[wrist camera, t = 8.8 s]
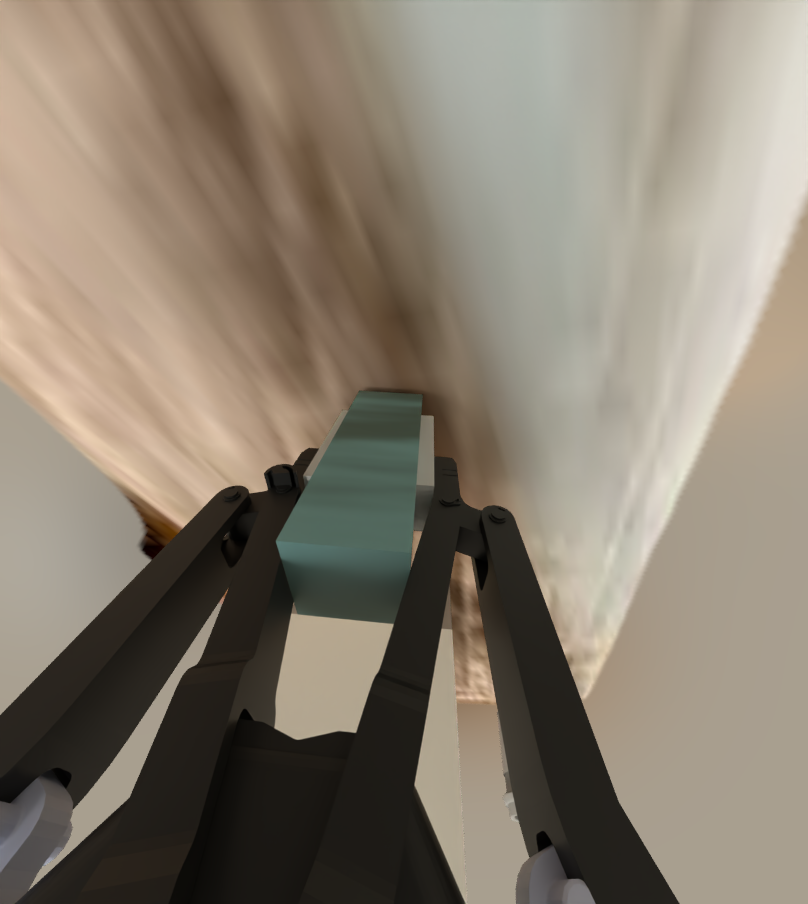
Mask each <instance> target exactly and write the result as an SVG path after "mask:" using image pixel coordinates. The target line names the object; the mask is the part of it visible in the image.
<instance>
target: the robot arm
mask: <svg viewBox="0 0 808 904" xmlns="http://www.w3.org/2000/svg"><path fill="white" fill-rule="evenodd" d="M347 412H348V410H342V411H341V413H340V415H339V416H338V418H337V420H336V421H335V423H334V425H333V426H332V428H331V430H330V431H329V433H328V435H327V436H326V438H325V440H324V441H323V443H322V445H321V446H320V448H319V449H316V448H308V449H306V450H305V451H304V452H302V453H301V454H300V456H299V457H298V459H297V460H296V462H295V463H294V465H293V466H292V465H289V464H281V465H276V466H273V467H271V468H269V469H268V470H267V471H266V472H265V473H264V476H265V479H266V483H267V487H268V490H267V491H264V492H258V493H250V494H249V491H248V489H247V488H246V487H243V486H232V487H228V488H225V489H223V490H221V491H220V492H219V493H217V494H216V495H215V496H214V497H213V498H212V499H211V500H210V501H209V502H208V503H207V505H206V506H205V507H204V508H203V509H202V510H201V511H200V512H199V513H198V514H197V515H196V516H195V517H194V518H193V519H192V520H191V521H190V522H189V523H188V524H187V525H186V526H185V527H184V528H183V529H182V530H181V531H180V532H179V533H178V534H177V535H176V536H175V537H174V538H173V539H172V540H171V541H170V542H169V543H168V544H167V545H166V546H165V547H164V548H163V549H162V550H161V551H160V553H159V554H158V555H157V556H156V557H155V558H154V559H153V560H152V561H151V562H150V563H149V564H148V565H147V566H146V567H145V568H144V569H143V570H142V571H141V572H140V573H139V574H138V575H137V576H136V577H135V578H134V579H133V580H132V581H131V582H130V583H129V584H128V585H127V586H126V587H125V588H124V589H123V590H122V591H121V592H120V593H119V594H118V595H117V596H116V598H115V599H114V600H113V601H112V602H111V603H110V604H109V605H108V606H107V607H106V608H105V609H104V610H103V611H102V612H101V613H100V614H99V615H98V616H97V617H96V618H95V619H94V620H93V621H92V622H91V623H90V624H89V625H88V626H87V627H86V628H85V629H84V630H83V631H82V632H81V633H80V634H79V635H78V636H77V637H76V638H75V639H74V640H73V641H72V642H71V643H70V644H69V645H68V647H67V648H66V649H65V650H64V651H63V652H62V653H61V654H60V655H59V656H58V657H57V658H56V659H55V660H54V661H53V662H52V663H51V664H50V665H49V666H48V667H47V668H46V669H45V670H44V671H43V672H42V673H41V674H40V675H39V676H38V677H37V678H36V679H35V680H34V681H33V682H32V683H31V684H30V685H29V687H27V688H26V690H25V691H24V692H22V694H21V695H20V696H19V697H18V698H17V699H16V700H15V701H14V702H13V703H12V704H11V705H10V706H9V707H8V708H7V709H6V710H5V711H4V712H3V713H2V714H1V715H0V904H465V901H464V899H463V897H462V894H461V892H460V890H459V887H458V885H457V883H456V880H455V878H454V876H453V873H452V871H451V869H450V866H449V864H448V862H447V859H446V857H445V855H444V852H443V850H442V848H441V845H440V843H439V841H438V838H437V836H436V834H435V831H434V829H433V827H432V824H431V822H430V820H429V817H428V815H427V813H426V810H425V808H424V806H423V803H422V801H421V799H420V796H419V794H418V792H417V789H416V787H415V779H416V773H417V768H418V762H419V756H420V751H421V745H422V739H423V734H424V728H425V722H426V716H427V711H428V705H429V699H430V692H431V686H432V680H433V675H434V669H435V663H436V658H437V652H438V646H439V641H440V635H441V629H442V624H443V618H444V612H445V607H446V601H447V595H448V590H449V584H450V578H451V573H452V567H453V561H454V556H455V551H457V552H460V553H463V554H465V555H468V556H471V559H472V565H473V571H474V576H475V582H476V588H477V594H478V599H479V605H480V611H481V617H482V622H483V628H484V634H485V640H486V645H487V651H488V657H489V662H490V668H491V674H492V680H493V685H494V691H495V697H496V703H497V708H498V714H499V720H500V726H501V731H502V737H503V743H504V749H505V754H506V760H507V766H508V771H509V777H510V783H511V788H512V793H513V798H514V802H515V807H516V812H517V816H518V820H519V824H520V827H521V830H522V834H523V837H524V841H525V845H526V848H527V852H528V855H529V857H530V858H529V859H528V860H527V861H526V862H525V863H524V864H523V865H522V867H521V870H520V872H519V874H518V878H517V884H516V904H679V902H678V901H677V899H676V897H675V895H674V894H673V892H672V890H671V889H670V887H669V885H668V884H667V882H666V880H665V879H664V877H663V875H662V874H661V872H660V870H659V869H658V867H657V865H656V864H655V862H654V861H653V859H652V857H651V855H650V854H649V852H648V850H647V849H646V847H645V846H644V844H643V842H642V840H641V839H640V837H639V835H638V834H637V832H636V830H635V829H634V827H633V825H632V824H631V822H630V820H629V819H628V817H627V815H626V814H625V812H624V810H623V809H622V807H621V805H620V804H619V802H618V799H617V796H616V793H615V791H614V788H613V785H612V783H611V780H610V777H609V774H608V772H607V769H606V766H605V764H604V761H603V758H602V755H601V753H600V750H599V747H598V744H597V742H596V739H595V736H594V733H593V731H592V728H591V725H590V723H589V720H588V717H587V714H586V712H585V709H584V706H583V703H582V701H581V698H580V695H579V693H578V690H577V687H576V684H575V682H574V679H573V676H572V674H571V671H570V668H569V665H568V663H567V660H566V657H565V655H564V652H563V649H562V646H561V644H560V641H559V638H558V636H557V633H556V630H555V627H554V625H553V622H552V619H551V616H550V614H549V611H548V608H547V606H546V603H545V600H544V597H543V595H542V592H541V589H540V587H539V584H538V581H537V578H536V576H535V573H534V570H533V568H532V565H531V562H530V559H529V557H528V554H527V551H526V548H525V546H524V543H523V540H522V538H521V535H520V532H519V529H518V527H517V524H516V521H515V519H514V517H513V515H512V513H511V512H509V511H508V510H507V509H505V508H503V507H501V506H495V505H493V506H487V507H485V508H484V509H483V510H482V511H481V510H478V509H475V508H472V507H470V506H468V505H467V504H465V503H464V502H463V499H462V498H461V496H460V490H459V482H458V473H457V465H456V463H455V461H454V460H453V459H452V458H447V457H434V416H426V415H421V426H420V440H419V454H418V469H417V483H416V497H415V512H414V526H413V530H414V531H423V532H422V535H421V538H420V541H419V545H418V548H417V551H416V554H415V557H414V561H413V564H412V567H411V570H410V574H409V577H408V580H407V583H406V586H405V590H404V593H403V596H402V599H401V602H400V606H399V609H398V612H397V615H396V618H395V622H394V625H393V628H392V631H391V635H390V638H389V641H388V644H387V647H386V651H385V654H384V657H383V660H382V663H381V666H380V669H379V671H378V673H377V674H376V675H375V678H374V680H373V682H372V685H371V688H370V691H369V694H368V697H367V700H366V703H365V706H364V709H363V712H362V715H361V719H360V722H359V725H358V728H357V731H356V733H353V732H344V731H336V732H332V733H327V734H323V735H318V736H314V737H309V738H305V739H300V740H297V739H294V738H292V737H290V736H288V735H286V734H284V733H283V732H281V731H279V730H277V729H275V728H274V727H275V717H276V704H275V700H276V691H277V686H278V681H279V675H280V670H281V665H282V660H283V655H284V649H285V644H286V639H287V634H288V629H289V623H290V618H291V613H292V608H293V602H294V601H293V597H292V594H291V591H290V587H289V584H288V581H287V577H286V574H285V571H284V567H283V564H282V560H281V557H280V554H279V550H278V547H277V544H276V539H277V538H278V536H279V534H280V532H281V531H282V529H283V527H284V525H285V523H286V522H287V520H288V518H289V516H290V514H291V513H292V511H293V509H294V507H295V505H296V504H297V502H298V500H299V498H300V496H301V495H302V493H303V491H304V489H305V487H306V486H307V484H308V482H309V480H310V478H311V477H312V475H313V473H314V471H315V469H316V468H317V466H318V464H319V462H320V460H321V459H322V457H323V455H324V453H325V452H326V450H327V448H328V446H329V444H330V443H331V441H332V439H333V437H334V435H335V434H336V432H337V430H338V428H339V426H340V425H341V423H342V421H343V419H344V417H345V416H346V414H347ZM226 534H227V535H226ZM225 535H226V536H225ZM228 588H229V589H228ZM227 589H228V591H227ZM226 591H227V594H226V597H225V599H224V602H223V604H222V607H221V609H220V612H219V614H218V617H217V619H216V622H215V624H214V627H213V629H212V632H211V635H210V637H209V639H208V642H207V645H206V647H205V650H204V653H203V655H202V657H201V659H200V661H199V662H198V664H197V665H195V666H193V667H191V668H189V669H188V670H187V671H186V672H185V673H184V675H183V676H182V678H181V680H180V682H179V684H178V686H177V688H176V690H175V692H174V695H173V697H172V699H171V702H170V704H169V706H168V709H167V711H166V714H165V716H164V718H163V721H162V723H161V725H160V728H159V730H158V732H157V735H156V737H155V739H154V742H153V744H152V746H151V749H150V751H149V753H148V756H147V758H146V761H145V763H144V765H143V768H142V770H141V773H140V775H139V777H138V779H137V782H136V784H135V786H134V789H133V791H132V794H131V796H130V798H129V799H128V800H127V801H126V802H124V804H122V805H121V806H120V807H119V808H118V809H117V810H116V811H115V812H114V813H112V814H111V815H110V816H109V817H108V818H107V819H106V820H105V821H104V822H103V823H102V824H101V825H99V826H98V827H97V829H95V830H94V831H93V832H92V833H91V834H90V835H89V836H88V837H86V838H85V839H84V840H83V841H82V842H81V843H80V844H79V845H78V846H77V847H76V848H75V849H73V851H71V852H70V853H69V854H68V855H67V856H66V857H65V858H64V859H63V860H62V861H60V862H59V863H58V864H57V865H56V866H55V867H54V868H53V869H52V870H51V871H50V872H48V874H46V875H45V876H44V877H43V878H42V879H41V880H40V881H39V882H38V883H37V884H35V885H34V886H33V887H32V888H31V889H30V890H29V888H30V886H31V884H32V883H33V881H34V879H35V877H36V875H37V873H38V872H39V870H40V869H41V868H42V866H45V865H46V864H48V863H49V862H51V861H52V860H53V859H55V857H56V856H57V855H58V854H59V853H60V852H61V851H62V850H63V848H64V847H65V845H66V843H67V842H68V840H69V838H70V835H71V831H72V824H71V822H70V819H71V816H72V811H73V809H74V808H75V807H76V806H77V805H78V803H79V802H80V801H81V800H82V799H83V798H84V796H85V795H86V794H87V793H88V792H89V791H90V789H91V788H92V787H93V786H94V784H95V783H96V782H97V781H98V779H99V778H100V777H101V775H102V774H103V773H104V771H106V769H107V768H108V767H109V766H110V764H111V763H112V761H113V760H114V758H115V757H116V756H117V754H118V753H119V751H120V750H121V748H122V747H123V746H124V744H125V743H126V741H127V740H128V739H129V737H130V735H131V734H132V732H133V731H134V730H135V728H136V727H137V725H138V724H139V722H140V721H141V719H142V718H143V716H144V714H145V713H146V712H147V710H148V709H149V707H150V706H151V704H152V702H153V701H154V699H155V698H156V696H157V695H158V693H159V692H160V690H161V689H162V687H163V686H164V684H165V683H166V681H167V680H168V678H169V677H170V675H171V674H172V672H173V671H174V669H175V668H176V666H177V665H178V663H179V662H180V660H181V659H182V657H183V656H184V654H185V653H186V651H187V650H188V648H189V647H190V645H191V643H192V642H193V641H194V639H195V638H196V636H197V634H198V633H199V632H200V630H201V628H202V627H203V625H204V624H205V622H206V621H207V619H208V618H209V616H210V615H211V613H212V611H213V610H214V609H215V607H216V606H217V604H218V603H219V601H220V600H221V598H222V597H223V595H224V594H225V592H226ZM28 890H29V891H28Z"/></svg>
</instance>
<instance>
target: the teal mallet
mask: <svg viewBox="0 0 808 904" xmlns="http://www.w3.org/2000/svg"><path fill="white" fill-rule="evenodd" d="M422 397H423V395H422V394H406V393H390V392H374V391H359V392H358V394H357V396H356V398H355V399H354V401H353V403H352V405H351V407H350V408H349V410H348V412H347V414H346V416H345V417H344V419H343V421H342V423H341V425H340V426H339V428H338V430H337V432H336V434H335V435H334V437H333V439H332V441H331V443H330V444H329V446H328V448H327V450H326V452H325V453H324V455H323V457H322V459H321V460H320V462H319V464H318V466H317V468H316V469H315V471H314V473H313V475H312V477H311V478H310V480H309V482H308V484H307V486H306V487H305V489H304V491H303V493H302V495H301V496H300V498H299V500H298V502H297V504H296V505H295V507H294V509H293V511H292V513H291V514H290V516H289V518H288V520H287V522H286V523H285V525H284V527H283V529H282V531H281V532H280V534H279V536H278V538H277V539H276V544H277V547H278V550H279V554H280V557H281V560H282V564H283V567H284V571H285V574H286V577H287V581H288V584H289V587H290V591H291V594H292V597H293V601H294V604H295V608H296V611H297V614H298V615H308V616H318V617H328V618H338V619H348V620H358V621H367V622H377V623H387V624H394V622H395V618H396V615H397V612H398V609H399V606H400V602H401V599H402V596H403V593H404V590H405V586H406V583H407V580H408V577H409V574H410V568H411V554H412V540H413V526H414V512H415V497H416V483H417V469H418V454H419V440H420V426H421V412H422Z"/></svg>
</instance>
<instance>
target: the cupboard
mask: <svg viewBox="0 0 808 904" xmlns="http://www.w3.org/2000/svg"><path fill="white" fill-rule="evenodd" d="M393 625H394V624H387V623H377V622H367V621H358V620H348V619H338V618H328V617H318V616H308V615H298V614H297V611H296V608H295V604H294V605H293V608H292V613H291V618H290V623H289V629H288V634H287V639H286V644H285V649H284V655H283V660H282V665H281V670H280V675H279V681H278V686H277V691H276V700H275V704H276V717H275V727H274V728H275V729H277V730H279V731H281V732H283V733H284V734H286V735H288V736H290V737H292V738H294V739H297V740H300V739H305V738H309V737H314V736H318V735H323V734H327V733H332V732H336V731H344V732H353V733H356V731H357V728H358V725H359V722H360V719H361V715H362V712H363V709H364V706H365V703H366V700H367V697H368V694H369V691H370V688H371V685H372V682H373V680H374V678H375V675H376V674H377V673H378V671H379V669H380V666H381V663H382V660H383V657H384V654H385V651H386V647H387V644H388V641H389V638H390V635H391V631H392V628H393ZM415 787H416V789H417V792H418V794H419V796H420V799H421V801H422V803H423V806H424V808H425V810H426V813H427V815H428V817H429V820H430V822H431V824H432V827H433V829H434V831H435V834H436V836H437V838H438V841H439V843H440V845H441V848H442V850H443V852H444V855H445V857H446V859H447V862H448V864H449V866H450V869H451V871H452V873H453V876H454V878H455V880H456V883H457V885H458V887H459V890H460V892H461V894H462V897H463V899H464V901H465V904H468V901H467V883H466V866H465V849H464V833H463V832H464V830H463V812H462V795H461V777H460V759H459V741H458V724H457V706H456V688H455V671H454V653H453V635H452V617H451V600H450V584H449V590H448V595H447V601H446V607H445V612H444V618H443V624H442V629H441V635H440V641H439V646H438V652H437V658H436V663H435V669H434V675H433V680H432V686H431V692H430V699H429V705H428V711H427V716H426V722H425V728H424V734H423V739H422V745H421V751H420V756H419V762H418V768H417V773H416V779H415Z"/></svg>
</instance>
